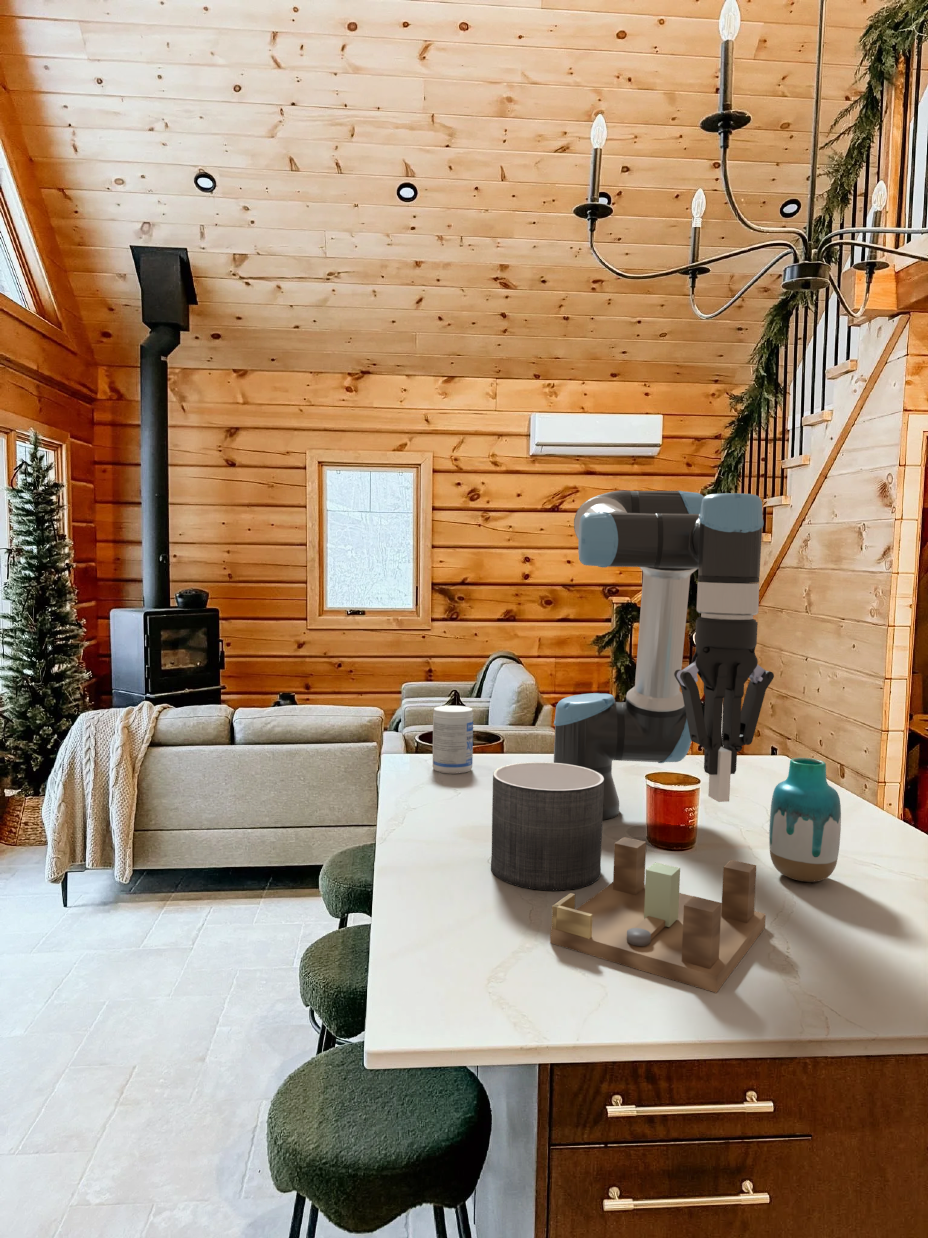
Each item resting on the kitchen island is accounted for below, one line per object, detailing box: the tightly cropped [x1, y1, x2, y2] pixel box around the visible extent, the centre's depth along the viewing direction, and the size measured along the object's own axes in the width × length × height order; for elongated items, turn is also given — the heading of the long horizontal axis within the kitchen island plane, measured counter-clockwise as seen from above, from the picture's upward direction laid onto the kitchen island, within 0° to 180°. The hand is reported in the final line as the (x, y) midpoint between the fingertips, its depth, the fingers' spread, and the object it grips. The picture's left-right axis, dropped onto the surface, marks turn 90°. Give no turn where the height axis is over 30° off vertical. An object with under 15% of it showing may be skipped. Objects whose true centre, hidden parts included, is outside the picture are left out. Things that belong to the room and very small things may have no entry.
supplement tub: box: [432, 705, 474, 774], centre depth 203 cm, size 10×10×15 cm
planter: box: [490, 761, 604, 891], centre depth 138 cm, size 18×18×16 cm
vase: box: [768, 757, 842, 883], centre depth 137 cm, size 11×11×19 cm
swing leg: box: [627, 862, 681, 946], centre depth 112 cm, size 4×11×7 cm, turn 147°
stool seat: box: [549, 836, 767, 994], centre depth 115 cm, size 22×22×9 cm
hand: (718, 798), depth 110 cm, fingers closed
